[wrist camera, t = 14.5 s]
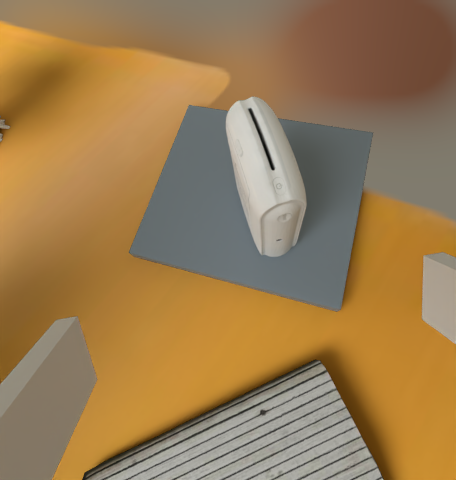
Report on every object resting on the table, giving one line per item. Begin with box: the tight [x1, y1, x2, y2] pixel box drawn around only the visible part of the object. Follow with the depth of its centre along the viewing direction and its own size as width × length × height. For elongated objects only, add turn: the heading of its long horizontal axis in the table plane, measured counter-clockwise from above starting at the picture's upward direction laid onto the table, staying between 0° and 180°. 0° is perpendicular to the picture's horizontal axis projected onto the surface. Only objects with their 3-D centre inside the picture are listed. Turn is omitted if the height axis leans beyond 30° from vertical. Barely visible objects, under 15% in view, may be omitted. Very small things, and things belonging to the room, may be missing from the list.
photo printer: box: [226, 97, 307, 257], centre depth 27 cm, size 10×4×12 cm, turn 15°
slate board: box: [129, 105, 373, 312], centre depth 34 cm, size 22×20×2 cm
